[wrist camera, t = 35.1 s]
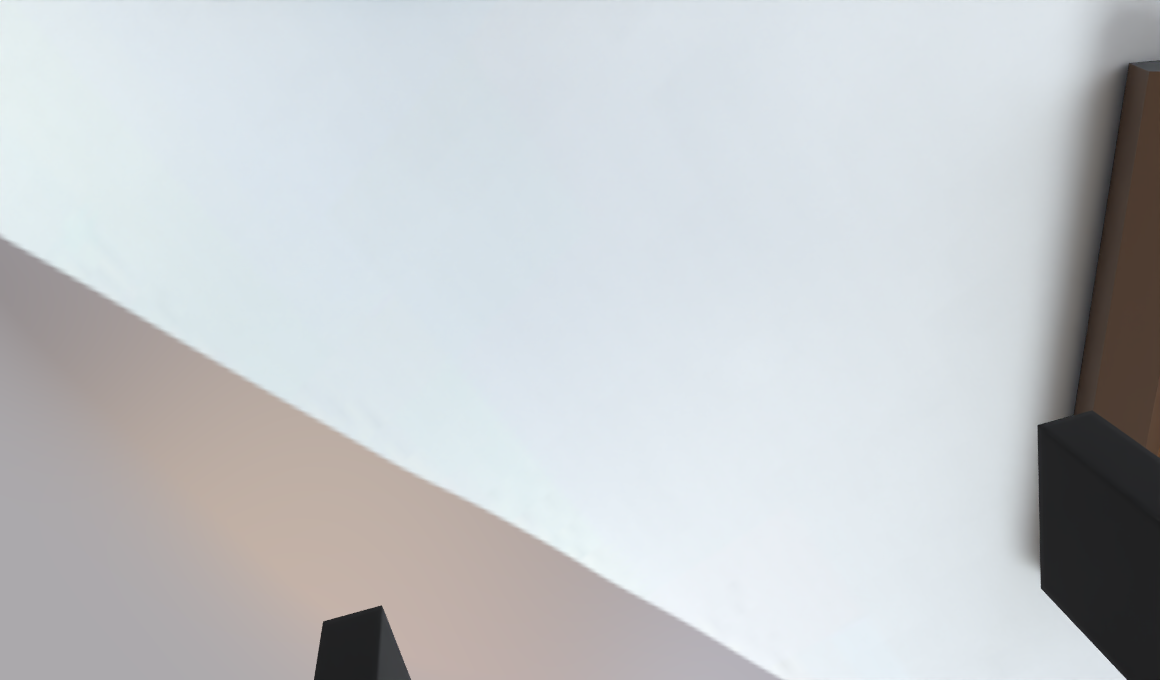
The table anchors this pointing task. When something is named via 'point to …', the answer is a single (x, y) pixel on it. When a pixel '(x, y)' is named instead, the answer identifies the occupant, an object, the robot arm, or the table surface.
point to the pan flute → (1129, 275)
